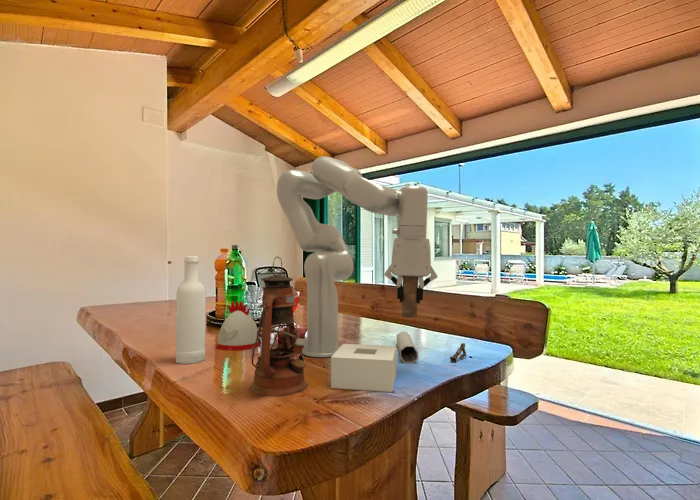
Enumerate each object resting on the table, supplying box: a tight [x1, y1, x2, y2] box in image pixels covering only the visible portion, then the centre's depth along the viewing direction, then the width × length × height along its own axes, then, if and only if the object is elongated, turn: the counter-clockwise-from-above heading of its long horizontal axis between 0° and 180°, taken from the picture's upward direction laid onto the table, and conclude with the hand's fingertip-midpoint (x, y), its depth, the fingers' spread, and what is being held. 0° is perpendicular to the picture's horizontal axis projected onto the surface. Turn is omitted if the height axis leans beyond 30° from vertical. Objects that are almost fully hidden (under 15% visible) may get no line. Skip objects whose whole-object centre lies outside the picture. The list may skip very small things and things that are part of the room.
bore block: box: [330, 343, 397, 393], centre depth 94 cm, size 14×14×7 cm
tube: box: [396, 331, 419, 364], centre depth 122 cm, size 5×5×25 cm
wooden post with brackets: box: [449, 342, 467, 364], centre depth 113 cm, size 2×8×4 cm, turn 138°
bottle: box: [175, 255, 206, 365], centre depth 111 cm, size 8×8×30 cm
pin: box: [401, 276, 419, 319], centre depth 102 cm, size 4×4×12 cm
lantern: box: [250, 256, 308, 397], centre depth 90 cm, size 17×13×30 cm
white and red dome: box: [216, 300, 260, 352], centre depth 130 cm, size 14×14×15 cm
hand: (409, 301), depth 102 cm, fingers closed on pin, 4 cm apart
